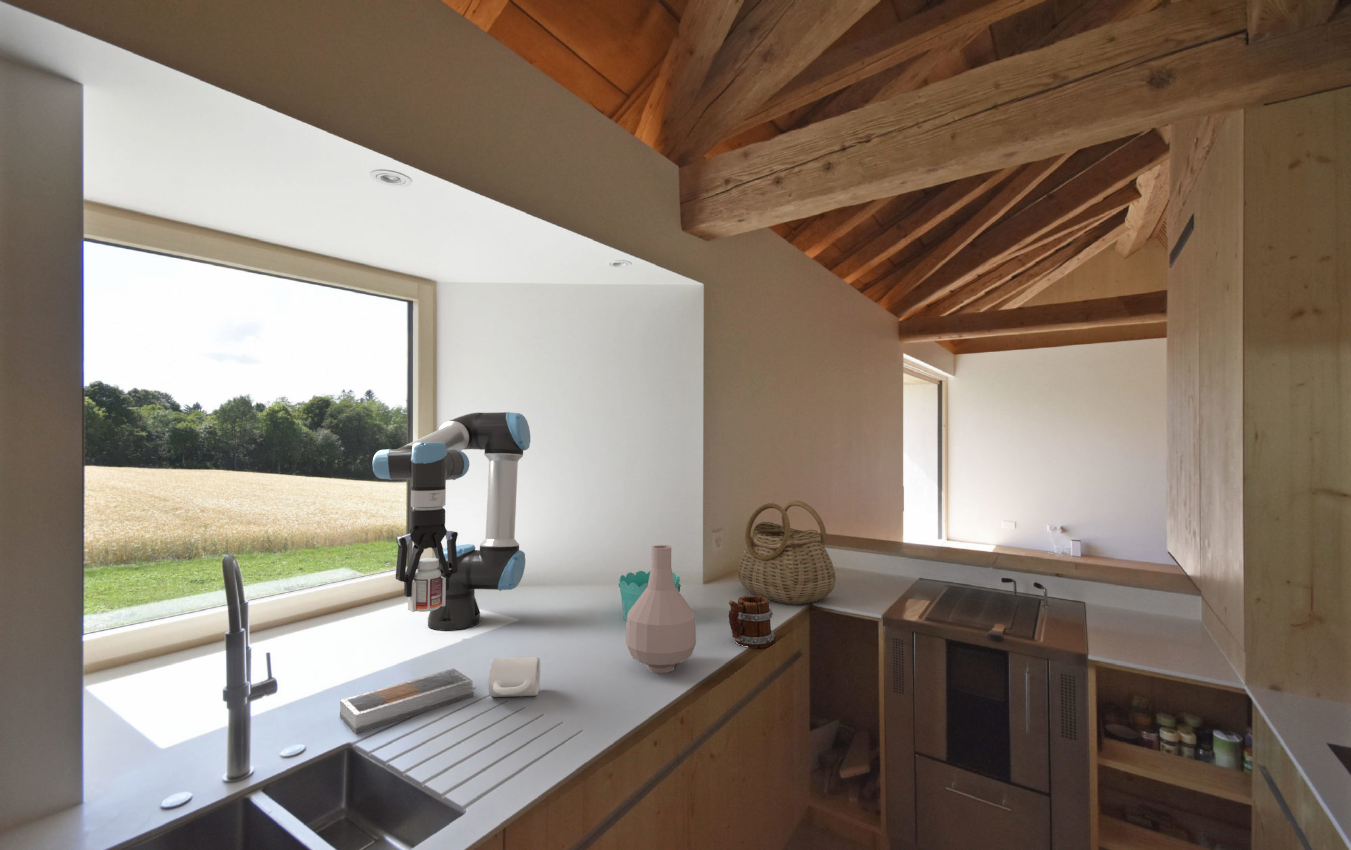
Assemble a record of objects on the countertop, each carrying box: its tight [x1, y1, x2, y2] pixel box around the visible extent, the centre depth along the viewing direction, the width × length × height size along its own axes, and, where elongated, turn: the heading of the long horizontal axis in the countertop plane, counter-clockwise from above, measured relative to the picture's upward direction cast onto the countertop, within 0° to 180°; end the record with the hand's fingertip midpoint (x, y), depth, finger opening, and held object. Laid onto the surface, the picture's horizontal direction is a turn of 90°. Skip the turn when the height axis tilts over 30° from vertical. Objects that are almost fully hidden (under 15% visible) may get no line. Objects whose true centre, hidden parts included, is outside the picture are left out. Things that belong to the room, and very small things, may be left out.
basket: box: [737, 500, 837, 605], centre depth 219 cm, size 35×28×34 cm
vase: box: [625, 544, 697, 674], centre depth 152 cm, size 18×18×30 cm
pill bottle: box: [413, 557, 441, 613], centre depth 142 cm, size 6×6×11 cm
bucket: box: [618, 570, 682, 622], centre depth 193 cm, size 19×18×13 cm
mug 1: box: [488, 656, 541, 698], centre depth 134 cm, size 12×10×8 cm
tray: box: [339, 667, 474, 735], centre depth 130 cm, size 24×10×4 cm, turn 134°
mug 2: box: [728, 595, 776, 649], centre depth 170 cm, size 12×14×15 cm
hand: (426, 607), depth 142 cm, fingers closed on pill bottle, 6 cm apart
